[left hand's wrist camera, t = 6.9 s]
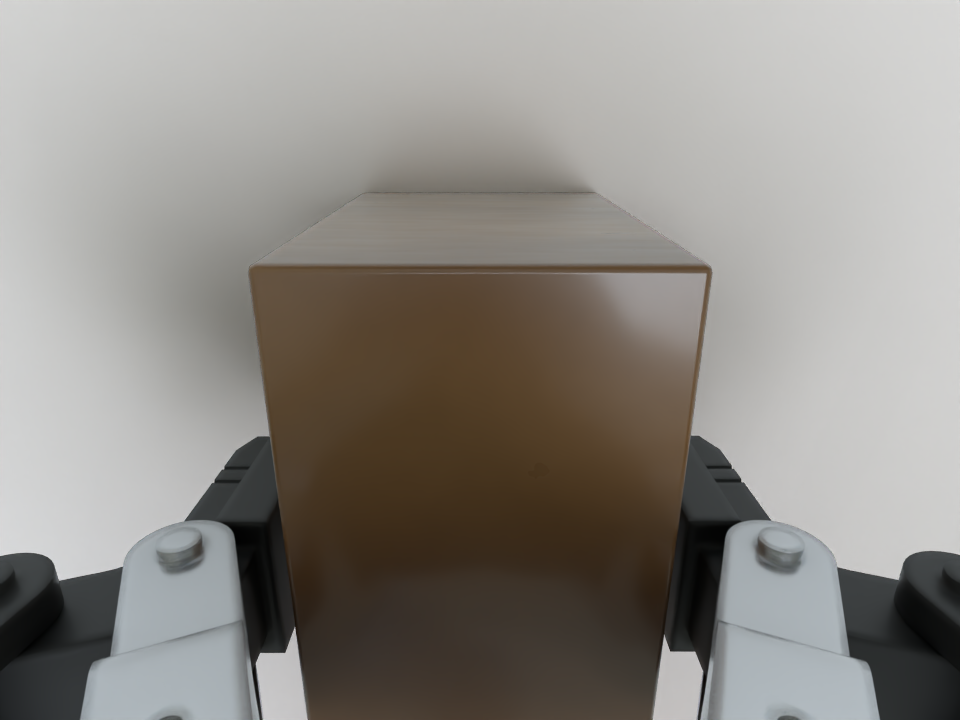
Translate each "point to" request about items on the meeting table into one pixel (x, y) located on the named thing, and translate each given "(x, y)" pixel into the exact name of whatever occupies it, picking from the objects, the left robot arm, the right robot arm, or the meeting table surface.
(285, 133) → the meeting table surface
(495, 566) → the beam
